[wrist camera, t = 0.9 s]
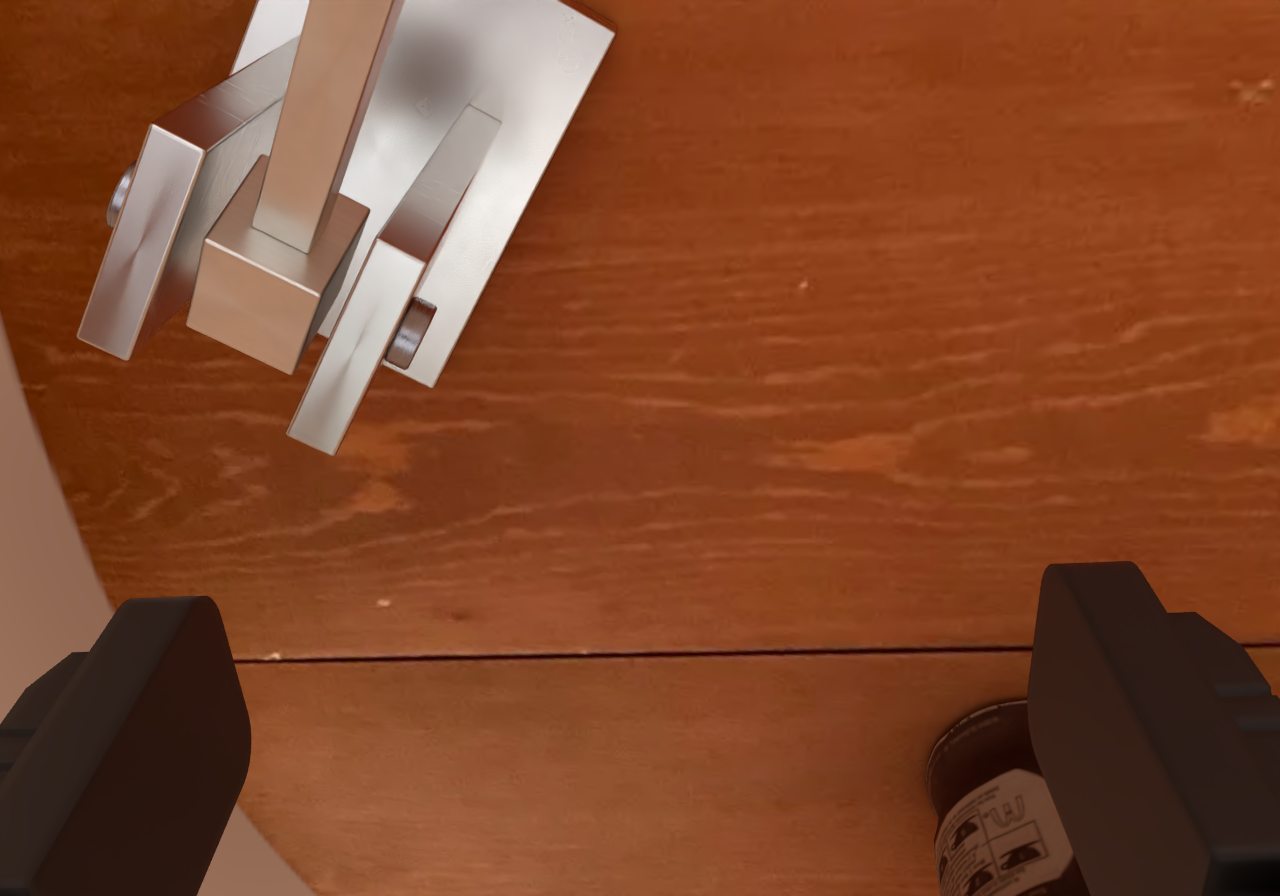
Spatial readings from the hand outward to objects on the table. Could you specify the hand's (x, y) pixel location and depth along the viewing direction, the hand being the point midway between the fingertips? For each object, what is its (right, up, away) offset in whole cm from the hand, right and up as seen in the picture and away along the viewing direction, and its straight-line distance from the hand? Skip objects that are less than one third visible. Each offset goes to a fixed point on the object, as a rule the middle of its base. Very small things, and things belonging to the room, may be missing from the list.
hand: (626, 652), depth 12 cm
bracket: (-7, +10, +20) cm, 23 cm away
